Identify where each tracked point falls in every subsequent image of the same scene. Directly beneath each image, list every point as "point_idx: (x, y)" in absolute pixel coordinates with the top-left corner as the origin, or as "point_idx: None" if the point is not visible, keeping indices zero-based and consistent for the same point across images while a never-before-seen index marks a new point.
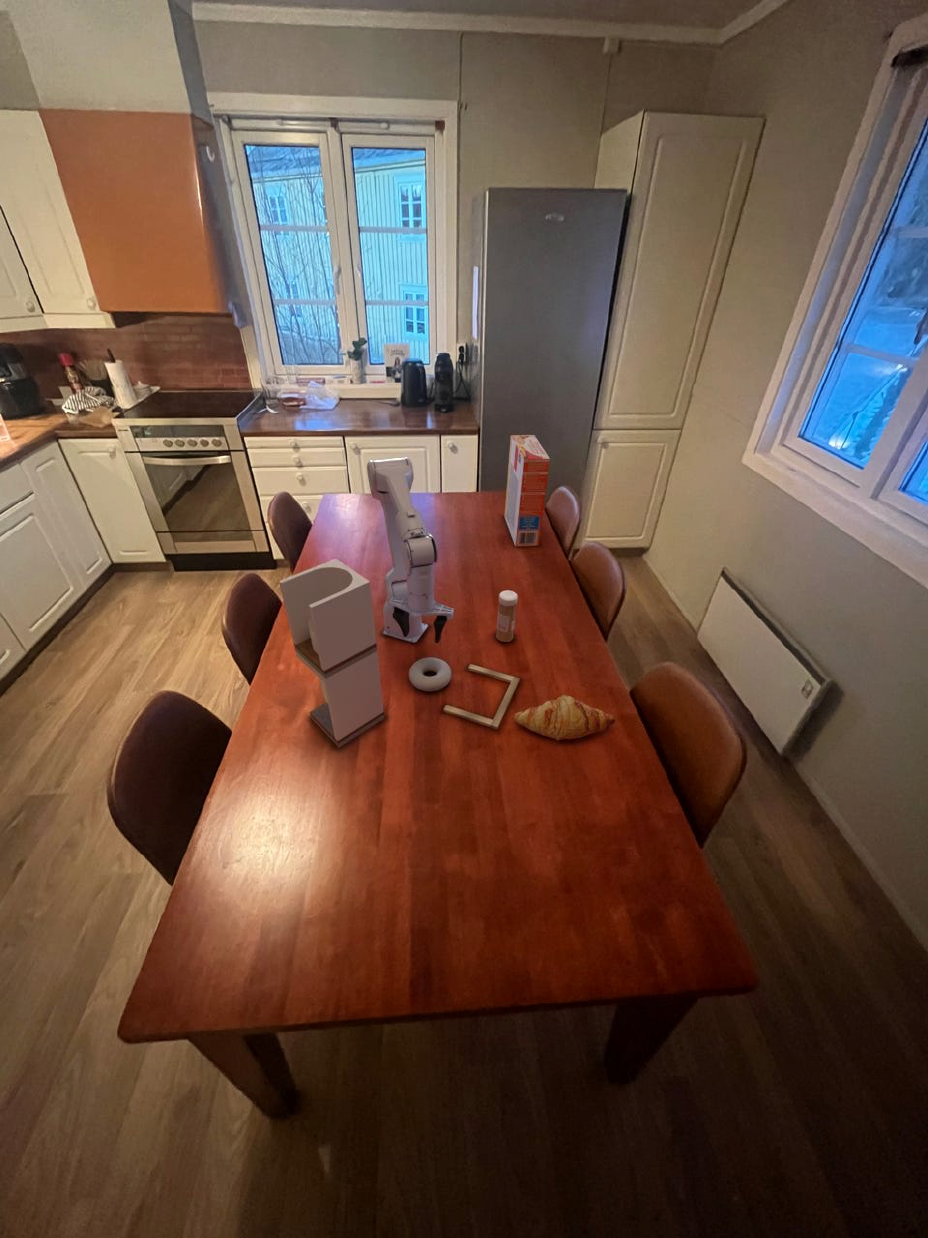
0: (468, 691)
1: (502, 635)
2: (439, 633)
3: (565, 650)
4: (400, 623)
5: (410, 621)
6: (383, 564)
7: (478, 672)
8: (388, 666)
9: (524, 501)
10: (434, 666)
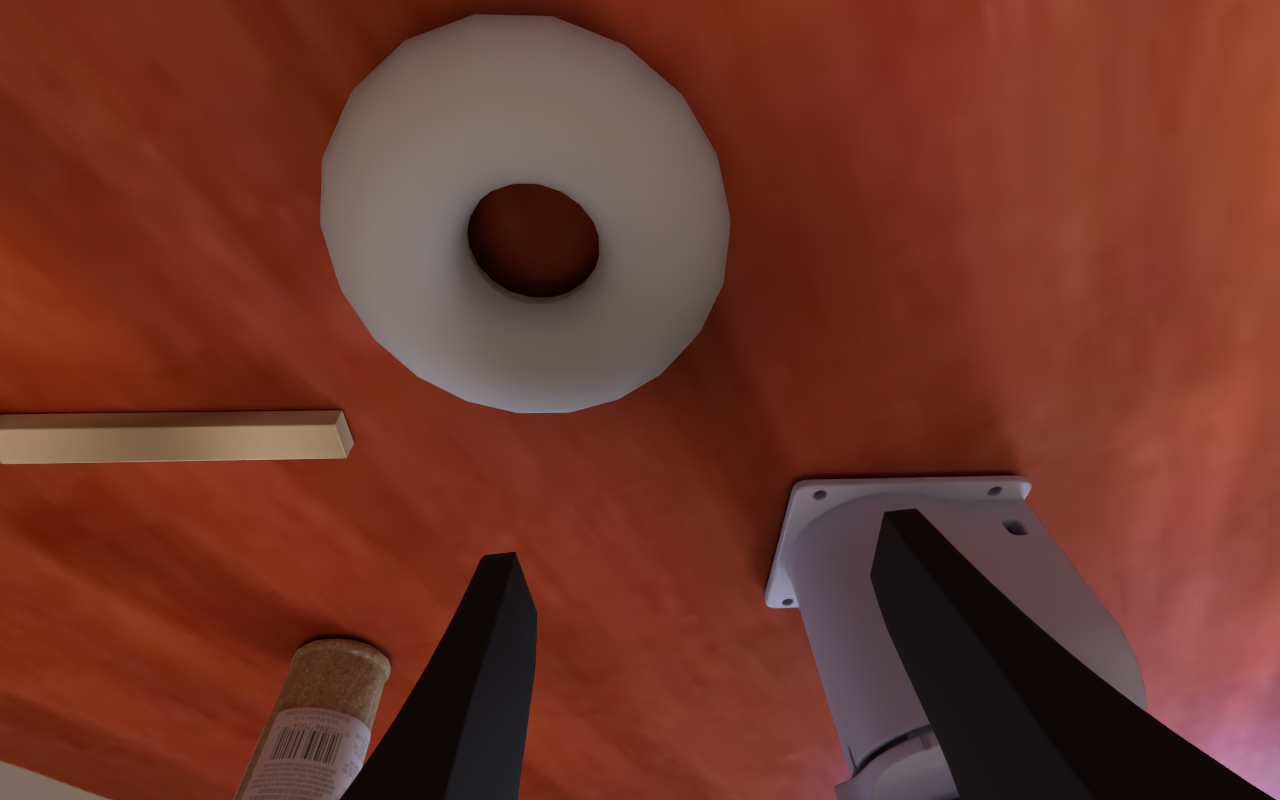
0: (170, 218)
1: (316, 680)
2: (387, 740)
3: (17, 685)
4: (1113, 737)
5: (884, 630)
6: None
7: (256, 415)
8: (928, 222)
9: None
10: (526, 329)
